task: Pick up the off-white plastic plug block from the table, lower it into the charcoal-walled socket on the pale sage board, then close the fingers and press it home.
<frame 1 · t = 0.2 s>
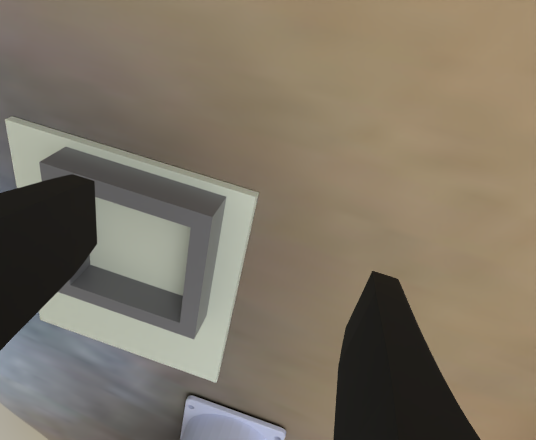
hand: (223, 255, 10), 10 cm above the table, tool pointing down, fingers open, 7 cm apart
socket board: (130, 266, 26), on the table
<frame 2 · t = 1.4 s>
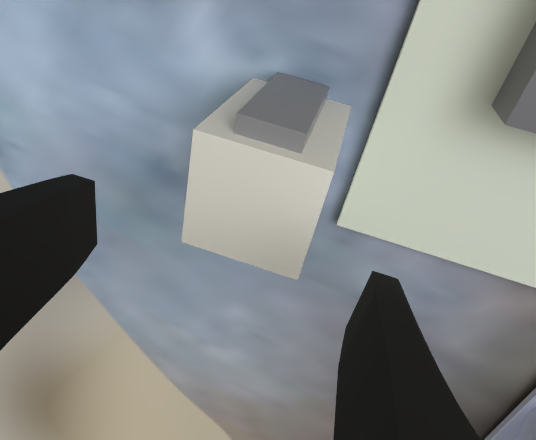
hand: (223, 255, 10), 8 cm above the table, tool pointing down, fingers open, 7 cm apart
plug: (289, 138, 17), on the table
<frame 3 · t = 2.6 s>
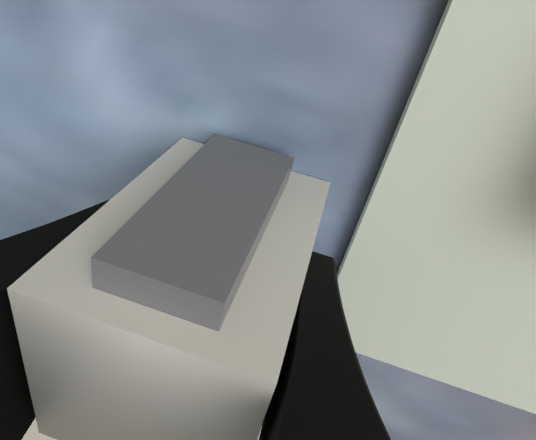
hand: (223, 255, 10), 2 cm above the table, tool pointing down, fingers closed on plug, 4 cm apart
plug: (242, 221, 12), on the table, touching gripper
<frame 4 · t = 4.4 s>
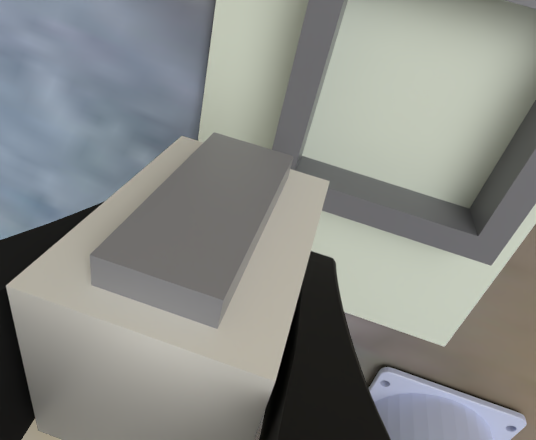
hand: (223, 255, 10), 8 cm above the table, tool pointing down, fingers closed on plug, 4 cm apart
plug: (241, 220, 12), point 7 cm above the table, touching gripper
socket board: (365, 158, 17), on the table
when the fingers open (3 cm above the table, at t = 6.1 s): plug drops 1 cm, resting on socket board.
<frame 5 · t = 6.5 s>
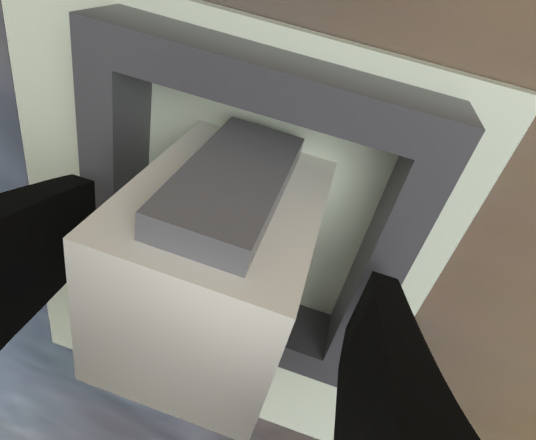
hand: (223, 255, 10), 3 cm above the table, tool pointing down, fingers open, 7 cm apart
plug: (253, 200, 13), resting on socket board
socket board: (216, 255, 15), on the table
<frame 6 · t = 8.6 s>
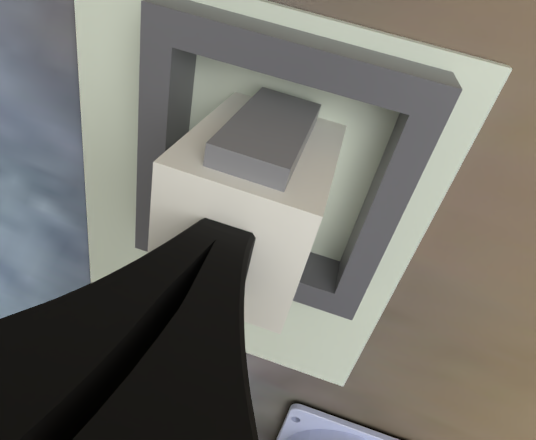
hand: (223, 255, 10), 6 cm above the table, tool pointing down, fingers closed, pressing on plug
plug: (277, 160, 15), resting on socket board, touching gripper
socket board: (241, 212, 17), on the table
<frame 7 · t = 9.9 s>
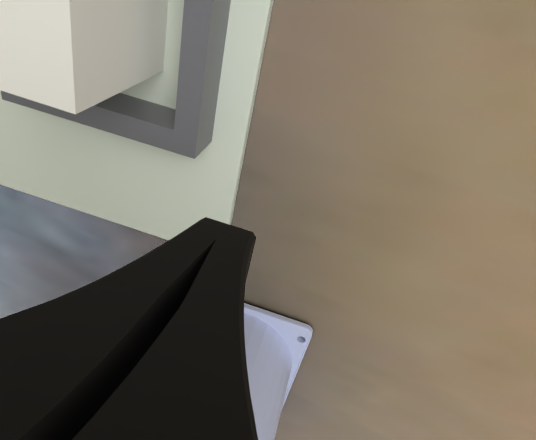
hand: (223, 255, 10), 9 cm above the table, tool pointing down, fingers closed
plug: (121, 7, 17), resting on socket board
socket board: (107, 73, 19), on the table
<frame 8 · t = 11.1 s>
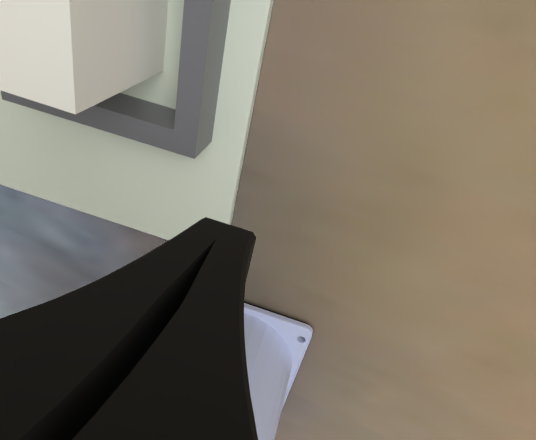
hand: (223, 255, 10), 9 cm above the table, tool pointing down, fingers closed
plug: (121, 7, 17), resting on socket board
socket board: (107, 73, 19), on the table
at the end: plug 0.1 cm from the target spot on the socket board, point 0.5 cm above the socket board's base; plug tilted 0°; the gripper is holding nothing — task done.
